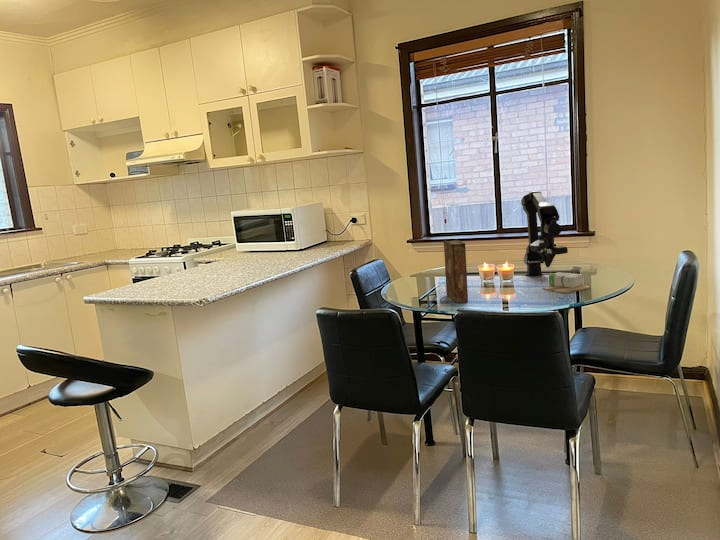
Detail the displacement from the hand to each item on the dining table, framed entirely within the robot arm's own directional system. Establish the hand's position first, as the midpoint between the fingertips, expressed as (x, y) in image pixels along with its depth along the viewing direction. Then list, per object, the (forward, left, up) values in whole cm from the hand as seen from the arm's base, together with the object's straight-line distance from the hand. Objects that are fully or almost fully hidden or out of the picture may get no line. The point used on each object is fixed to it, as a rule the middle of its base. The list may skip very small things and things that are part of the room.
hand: (547, 267), depth 245 cm
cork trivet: (+11, 0, -8) cm, 14 cm away
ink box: (+3, +1, -5) cm, 6 cm away
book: (-7, -45, -8) cm, 46 cm away
